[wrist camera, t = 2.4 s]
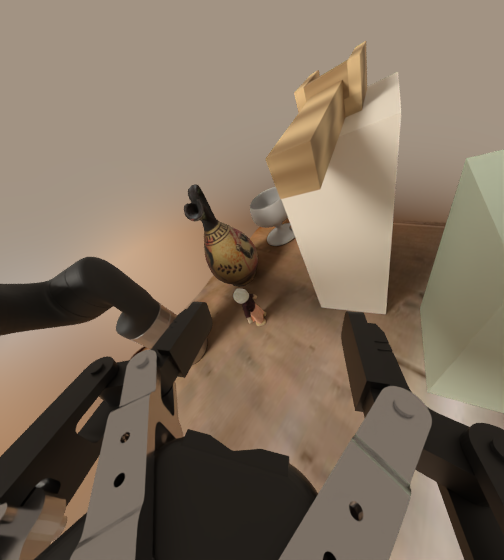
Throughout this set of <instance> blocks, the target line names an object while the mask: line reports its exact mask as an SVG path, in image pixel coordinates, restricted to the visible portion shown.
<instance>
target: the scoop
mask: <svg viewBox="0 0 504 560" xmlns="http://www.w3.org/2000/svg"><path fill="white" fill-rule="evenodd" d="M366 63H367V60H366V41H365V42H363V43H362V44H360V45H358V46H357V47H355V49H354V51H353V52H352V54H351V56H350V57H349V59H348V60H346V61H345V62H343V63H341V64H340V65H338V66H336V67H335V68H333V69H331V70H330V71H328V72H326V73H325V74H323V75H321V76H319V71H316V72H315V73H313V74H311V75H310V76H309V77H308V78H307V79H306V81H305V82H304V83H303V84H302V85H301V86H300V87H299V88H298V89H297V90H296V91H295V92H294V94H295V98H296V103H297V107H298V112H299V114H298V115H297V116H296V118H295V119H294V121H293V122H292V123H291V124H290V126H289V127H288V129H287V130H286V131H285V133H284V134H283V136H282V137H281V138H280V140H279V141H278V142H277V144H276V145H275V147H274V148H273V149H272V150H271V152H270V153H269V155H268V156H267V157H266V162H267V165H268V167H269V170H270V172H271V175H272V178H273V180H274V183H275V186H276V189H277V191H278V194H279V197H280V199H284V198H288V197H292V196H296V195H300V194H304V193H308V192H312V191H316V190H320V189H321V186H322V183H323V180H324V178H325V175H326V172H327V169H328V166H329V163H330V160H331V158H332V155H333V152H334V149H335V146H336V143H337V140H338V138H339V135H340V132H341V129H342V126H343V123H344V120H345V118H346V117H348V116H350V115H352V114H355V113H357V112H359V111H362V108H363V104H364V100H365V96H366V91H367V64H366Z"/></svg>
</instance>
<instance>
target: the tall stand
mask: <svg viewBox="0 0 504 560" xmlns="http://www.w3.org/2000/svg"><path fill="white" fill-rule="evenodd" d="M399 90H400V89H399V78H398V72H396V73H394V74H392V75H390V76H388V77H386V78H384V79H382V80H380V81H378V82H376V83H374V84H372V85H370V86H368V87H367V91H366V96H365V100H364V104H363V108H362V111H359V112H357V113H355V114H352V115H350V116H348V117H346V118H345V120H344V123H343V126H342V129H341V132H340V135H339V138H338V140H337V143H336V146H335V149H334V152H333V155H332V158H331V160H330V163H329V166H328V169H327V172H326V175H325V178H324V180H323V183H322V186H321V189H320V190H316V191H312V192H308V193H304V194H300V195H296V196H292V197H288V198H284V199H281V200H282V203H283V205H284V208H285V211H286V213H287V216H288V219H289V222H290V224H291V227H292V230H293V232H294V235H295V238H296V240H297V243H298V246H299V249H300V251H301V254H302V257H303V259H304V262H305V265H306V267H307V270H308V273H309V275H310V278H311V281H312V284H313V286H314V289H315V292H316V294H317V297H318V300H319V302H320V305H321V307H323V308H332V309H341V310H350V311H359V312H368V313H377V314H386V307H387V294H388V280H389V267H390V254H391V241H392V228H393V215H394V202H395V189H396V176H397V162H398V149H399V137H400V124H401V123H400V122H401V102H400V91H399Z"/></svg>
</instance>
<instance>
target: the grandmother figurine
mask: <svg viewBox="0 0 504 560" xmlns="http://www.w3.org/2000/svg"><path fill="white" fill-rule="evenodd" d="M233 298H234V300H235V301H236V302H237V303H240V304H242V307H243V310H244V313H245V316H246V318H247V320H248V322H249V323H252V322H255V321H256V325H257V326H261V325H264V324H265V323H266V319H263V317H265V316H266V312H264V311H263V310H262V309H261V308H260V307H259V306H258V305H257V304H255V302H254V301H253V299H256V298H257V296H256V295H254V294H249V293H248V292H247V291H246V290H245V289H239V288H238V289H236V290H235V291H234V294H233ZM252 298H253V299H252Z"/></svg>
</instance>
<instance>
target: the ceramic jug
mask: <svg viewBox="0 0 504 560" xmlns="http://www.w3.org/2000/svg"><path fill="white" fill-rule="evenodd" d="M188 196H189V199H190V200H191V203H190V204H186V205H185V206H184V212H185V216H186V217H187V218H188V219H190V220H192V221H198V220H201V221H202V223H203V227H204V248H205V257H206V261H207V263H208V266H209V268H210V270H211V272H212V273H213V275H214V276H215V277H216V278H217V279H219V280H220V281H222V282H224V283H228V284H233V285H234V286H238V287H240V286H245V285H246V284H247V283H249V282H250V281H252V279H253V278H254V276H255V273H256V267H257V264H258V255H257V250H256V248H255V246H254V244H253V243H252V241H251V240H250V239H249V238H248V237H247V236H246V235H245V234H243V233H242V232H240V231H239V230H237V229H235V228H233V227H231V226H229V225H227V224H224V223H221V222H219V221H218V220H216V218H215V216H214V214H213V212H212V211H211V208H210V206H209V204H208V202H207V200H206V198H205V196H204V194H203V192H202V191H201V189H200V187H199V186H198V185H192V186H191V187H190V188H189V189H188Z"/></svg>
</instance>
